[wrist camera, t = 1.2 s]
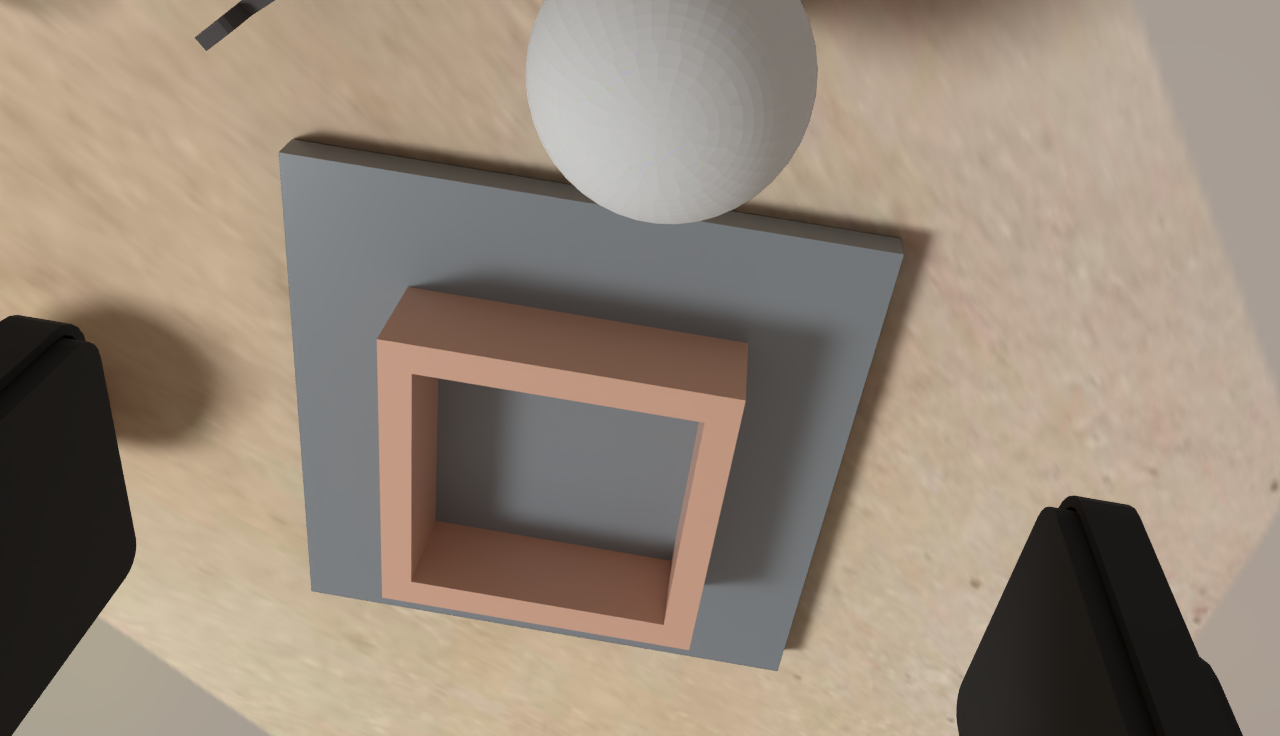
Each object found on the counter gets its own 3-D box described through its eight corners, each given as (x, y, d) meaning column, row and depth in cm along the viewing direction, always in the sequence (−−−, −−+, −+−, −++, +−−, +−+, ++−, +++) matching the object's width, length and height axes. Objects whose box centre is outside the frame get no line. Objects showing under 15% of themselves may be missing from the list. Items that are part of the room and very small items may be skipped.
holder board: (292, 139, 31) (233, 196, 28) (900, 238, 30) (915, 308, 27) (320, 572, 41) (281, 652, 38) (777, 650, 41) (777, 738, 37)
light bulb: (857, -23, 27) (893, 119, 18) (704, 142, 29) (675, 329, 21) (681, -192, 25) (633, -119, 17) (537, 0, 28) (435, 144, 20)
